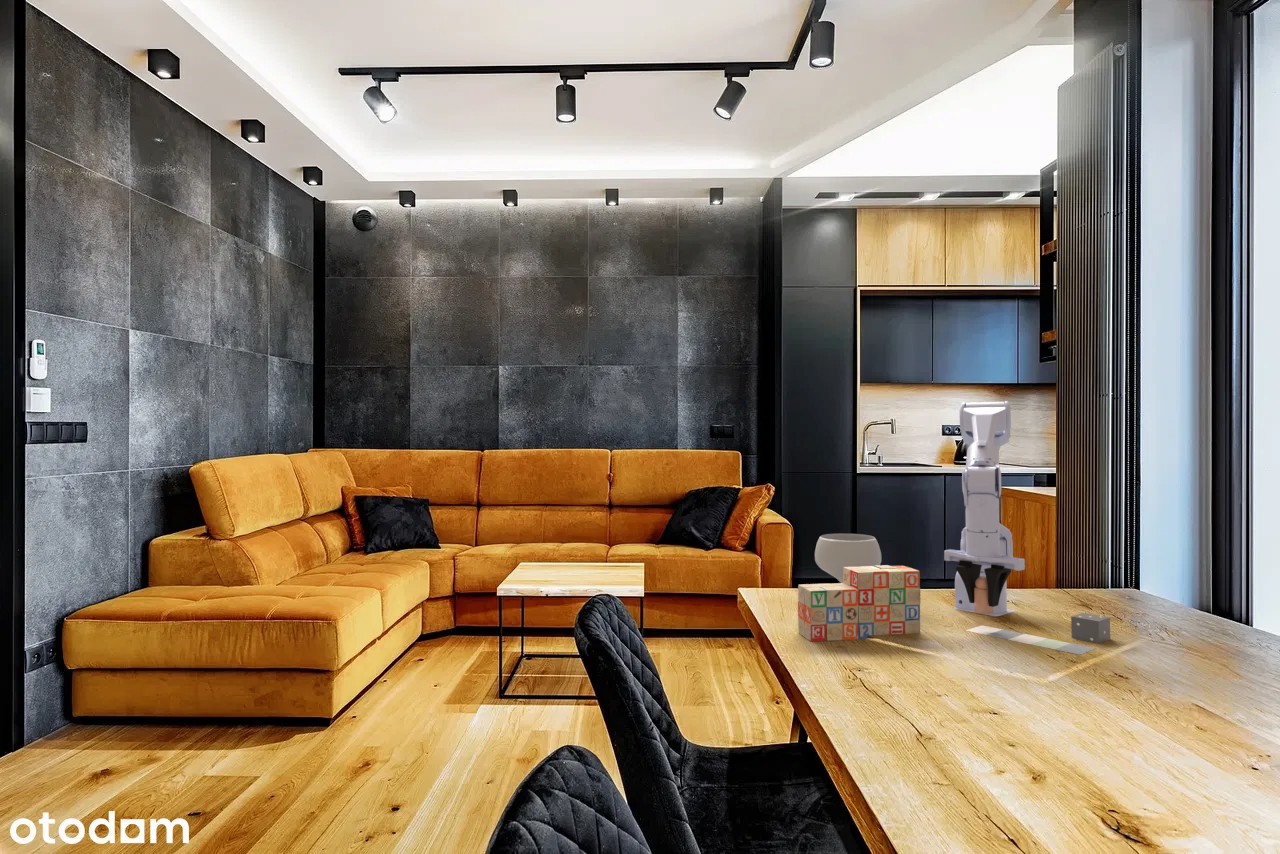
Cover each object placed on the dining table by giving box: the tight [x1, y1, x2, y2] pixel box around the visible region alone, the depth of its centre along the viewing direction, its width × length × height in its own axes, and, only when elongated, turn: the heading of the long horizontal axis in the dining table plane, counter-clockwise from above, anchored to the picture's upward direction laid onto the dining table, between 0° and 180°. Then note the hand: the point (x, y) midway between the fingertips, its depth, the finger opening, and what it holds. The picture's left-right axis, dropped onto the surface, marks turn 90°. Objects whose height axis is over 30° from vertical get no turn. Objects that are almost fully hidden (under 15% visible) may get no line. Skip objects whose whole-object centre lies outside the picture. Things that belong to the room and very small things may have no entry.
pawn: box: [973, 576, 993, 615], centre depth 140 cm, size 3×3×7 cm
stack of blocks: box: [797, 564, 921, 642], centre depth 140 cm, size 21×6×12 cm, turn 99°
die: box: [1070, 612, 1111, 644], centre depth 133 cm, size 5×5×5 cm
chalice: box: [814, 533, 882, 583], centre depth 163 cm, size 14×14×15 cm
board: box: [965, 625, 1097, 656], centre depth 133 cm, size 20×6×1 cm, turn 37°
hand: (983, 604), depth 140 cm, fingers closed on pawn, 3 cm apart
